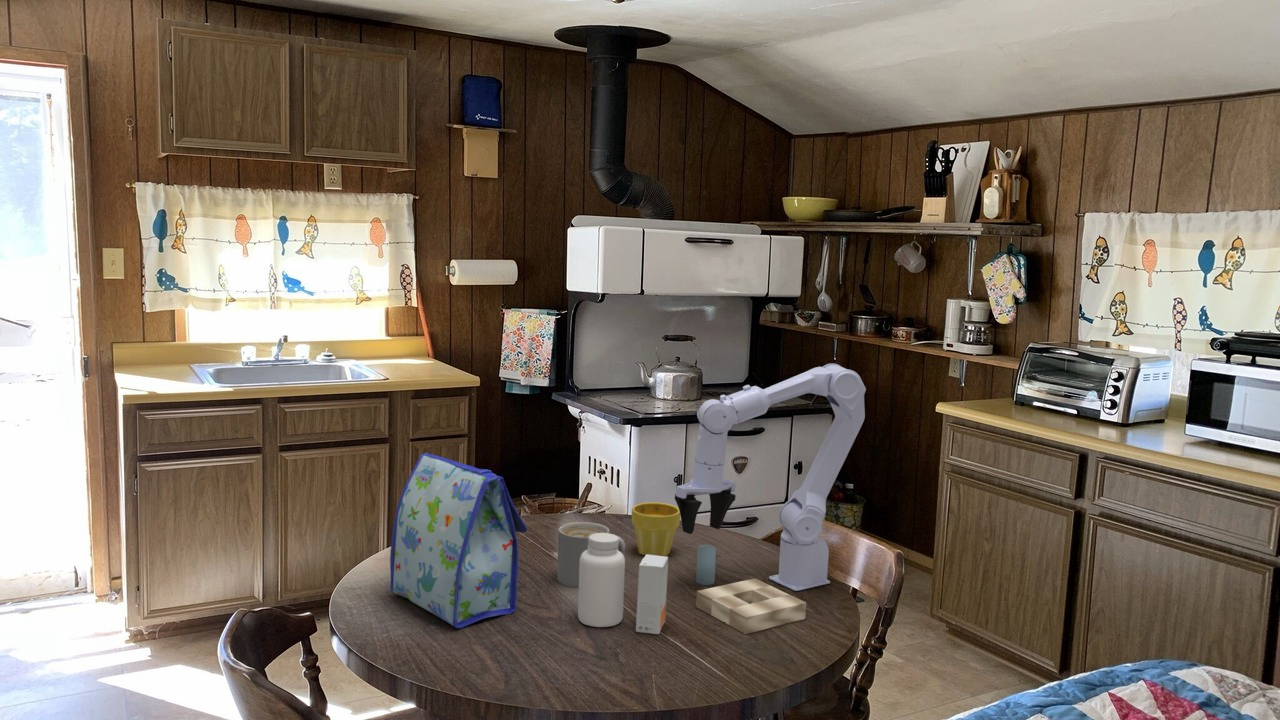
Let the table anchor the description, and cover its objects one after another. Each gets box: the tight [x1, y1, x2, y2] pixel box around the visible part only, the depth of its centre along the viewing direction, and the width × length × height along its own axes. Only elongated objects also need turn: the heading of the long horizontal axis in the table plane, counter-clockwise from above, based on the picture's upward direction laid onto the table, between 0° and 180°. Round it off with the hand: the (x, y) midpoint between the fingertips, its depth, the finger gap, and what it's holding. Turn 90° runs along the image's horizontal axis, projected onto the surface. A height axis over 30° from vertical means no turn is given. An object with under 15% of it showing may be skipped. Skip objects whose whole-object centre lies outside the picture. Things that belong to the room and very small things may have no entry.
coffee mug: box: [556, 521, 626, 589], centre depth 187 cm, size 13×10×10 cm
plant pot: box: [631, 501, 681, 557], centre depth 204 cm, size 10×10×10 cm
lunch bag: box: [389, 452, 528, 629], centre depth 171 cm, size 22×17×26 cm
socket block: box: [695, 577, 807, 635], centre depth 174 cm, size 14×14×3 cm
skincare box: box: [635, 554, 669, 635], centre depth 165 cm, size 6×4×12 cm
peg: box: [695, 544, 717, 586], centre depth 188 cm, size 4×4×7 cm
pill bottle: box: [577, 532, 626, 628], centre depth 167 cm, size 8×8×15 cm
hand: (701, 530), depth 186 cm, fingers open, 7 cm apart
